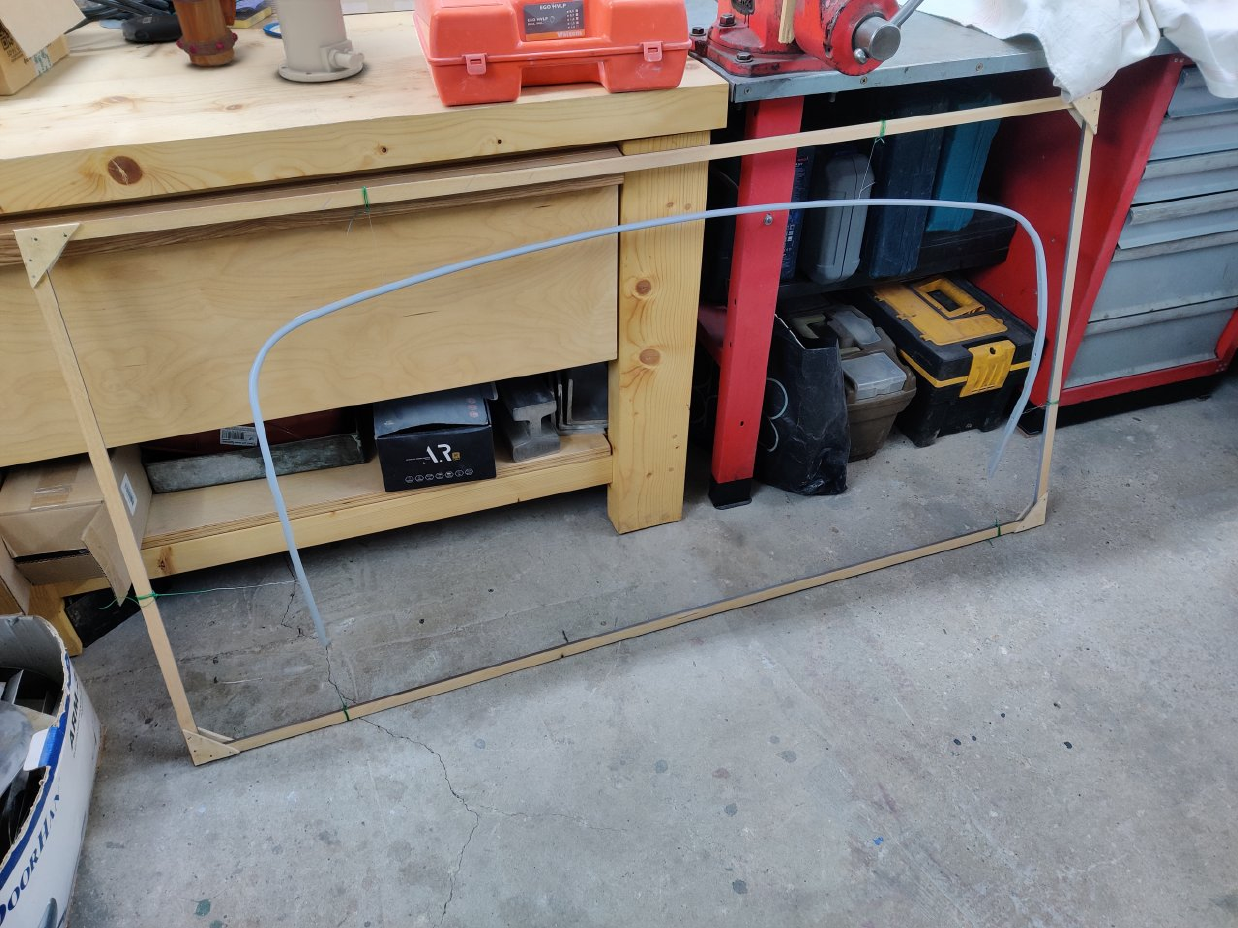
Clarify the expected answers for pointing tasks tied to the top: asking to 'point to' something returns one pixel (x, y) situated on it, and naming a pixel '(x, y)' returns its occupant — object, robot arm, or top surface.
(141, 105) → the top surface
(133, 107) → the top surface
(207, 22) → the mug
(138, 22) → the electronic device
